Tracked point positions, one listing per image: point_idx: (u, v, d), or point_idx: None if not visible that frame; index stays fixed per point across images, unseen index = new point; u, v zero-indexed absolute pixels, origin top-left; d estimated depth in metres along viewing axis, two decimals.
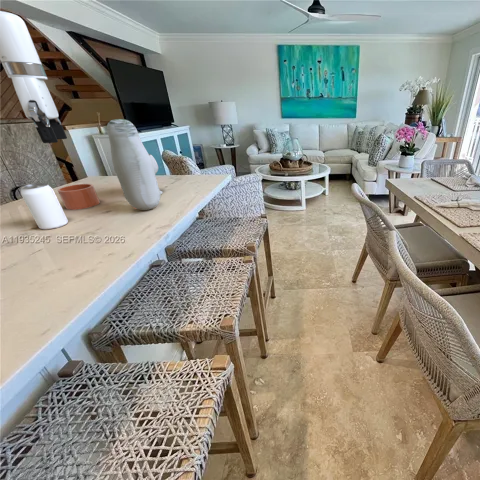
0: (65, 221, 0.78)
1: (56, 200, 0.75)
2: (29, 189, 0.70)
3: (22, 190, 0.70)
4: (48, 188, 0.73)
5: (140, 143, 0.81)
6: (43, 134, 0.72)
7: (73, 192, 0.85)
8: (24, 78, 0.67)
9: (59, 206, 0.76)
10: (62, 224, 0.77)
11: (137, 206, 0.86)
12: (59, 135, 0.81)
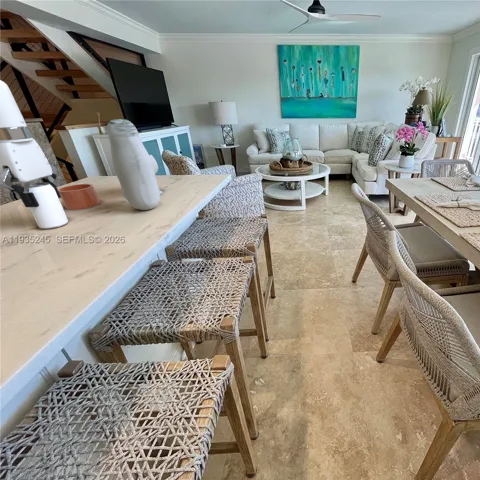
0: (65, 221, 0.78)
1: (57, 199, 0.76)
2: (31, 188, 0.71)
3: None
4: (50, 187, 0.74)
5: (140, 143, 0.81)
6: (23, 200, 0.70)
7: (73, 192, 0.85)
8: None
9: (60, 205, 0.77)
10: (62, 223, 0.77)
11: (137, 206, 0.86)
12: None
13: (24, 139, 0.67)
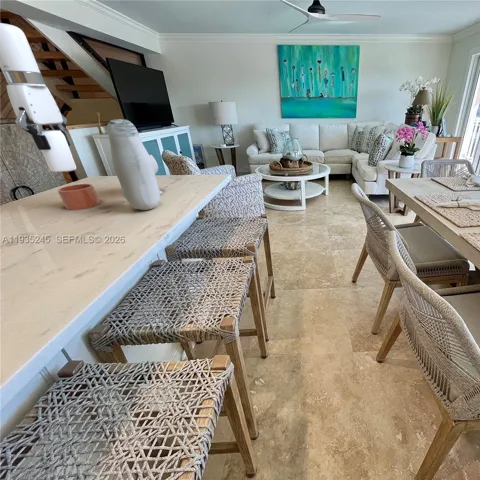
0: (74, 167, 0.84)
1: (67, 146, 0.82)
2: (43, 131, 0.77)
3: None
4: (60, 133, 0.80)
5: (140, 143, 0.81)
6: (36, 142, 0.76)
7: (73, 192, 0.85)
8: (14, 86, 0.70)
9: (69, 152, 0.83)
10: (71, 169, 0.84)
11: (137, 206, 0.86)
12: None
13: (38, 84, 0.73)
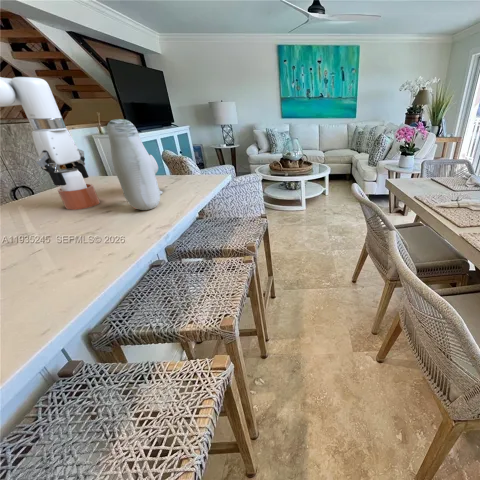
0: None
1: (84, 183, 0.89)
2: (63, 173, 0.83)
3: None
4: (78, 172, 0.87)
5: (140, 143, 0.81)
6: (53, 178, 0.81)
7: (73, 192, 0.85)
8: (39, 132, 0.77)
9: None
10: None
11: (137, 206, 0.86)
12: (82, 174, 0.91)
13: (60, 128, 0.80)
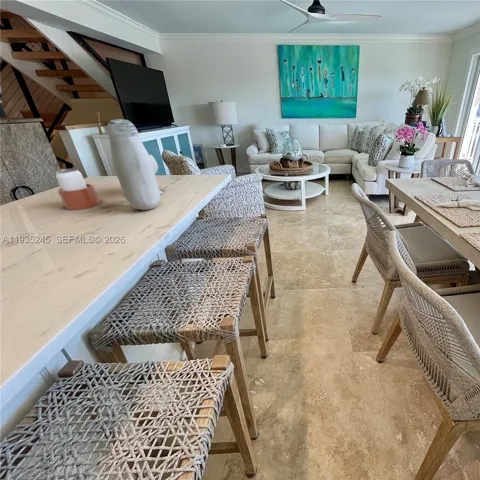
0: None
1: (84, 183, 0.89)
2: (63, 173, 0.83)
3: (57, 174, 0.83)
4: (78, 172, 0.87)
5: (140, 143, 0.81)
6: None
7: (73, 192, 0.85)
8: None
9: None
10: None
11: (137, 206, 0.86)
12: None
13: None
